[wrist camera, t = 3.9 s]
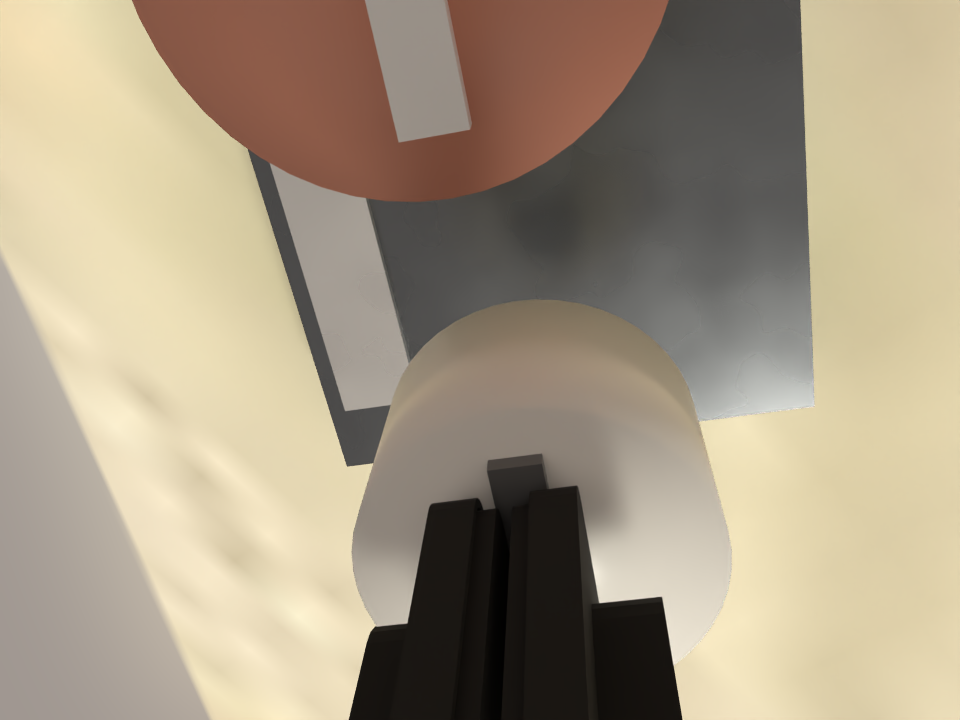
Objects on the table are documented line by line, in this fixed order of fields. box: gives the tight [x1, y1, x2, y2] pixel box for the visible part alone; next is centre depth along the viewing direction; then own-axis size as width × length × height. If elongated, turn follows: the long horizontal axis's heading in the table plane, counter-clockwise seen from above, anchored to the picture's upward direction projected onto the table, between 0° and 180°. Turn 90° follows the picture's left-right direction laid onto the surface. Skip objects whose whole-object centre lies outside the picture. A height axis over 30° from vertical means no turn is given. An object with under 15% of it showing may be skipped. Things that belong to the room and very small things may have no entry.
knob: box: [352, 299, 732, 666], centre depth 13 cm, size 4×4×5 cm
